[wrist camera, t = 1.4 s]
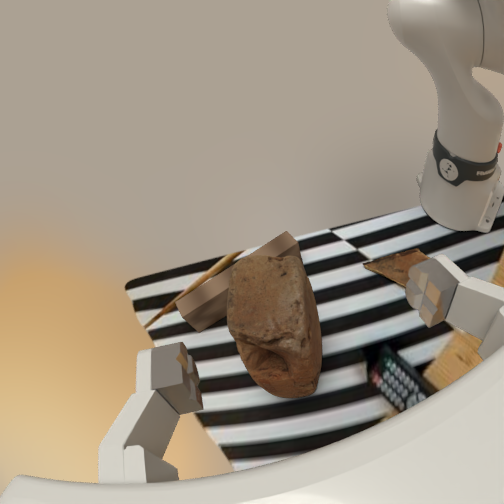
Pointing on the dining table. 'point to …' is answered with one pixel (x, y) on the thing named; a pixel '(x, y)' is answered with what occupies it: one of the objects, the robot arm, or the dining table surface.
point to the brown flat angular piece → (397, 265)
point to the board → (227, 287)
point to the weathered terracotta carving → (275, 324)
